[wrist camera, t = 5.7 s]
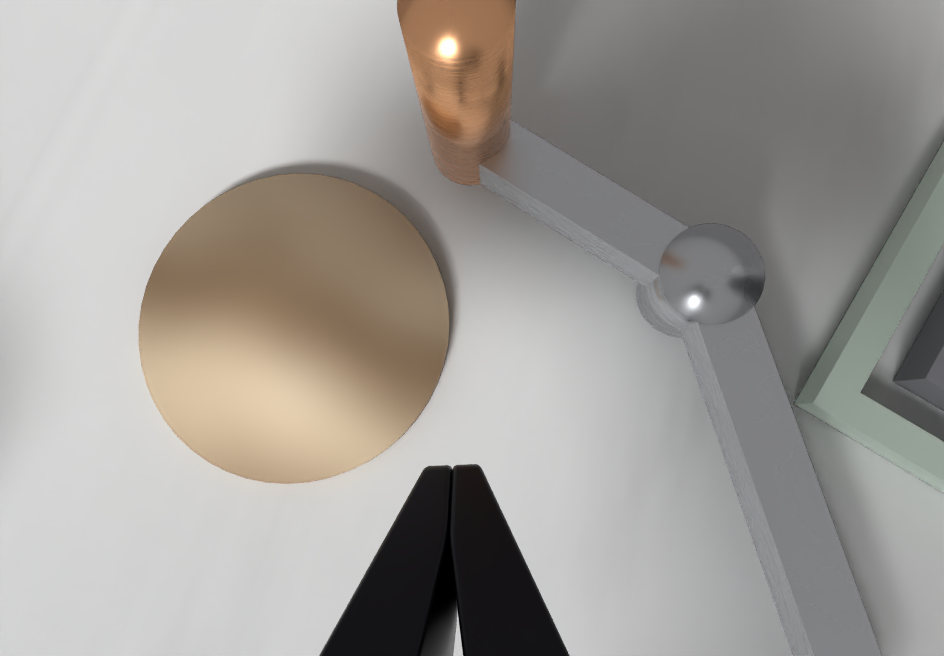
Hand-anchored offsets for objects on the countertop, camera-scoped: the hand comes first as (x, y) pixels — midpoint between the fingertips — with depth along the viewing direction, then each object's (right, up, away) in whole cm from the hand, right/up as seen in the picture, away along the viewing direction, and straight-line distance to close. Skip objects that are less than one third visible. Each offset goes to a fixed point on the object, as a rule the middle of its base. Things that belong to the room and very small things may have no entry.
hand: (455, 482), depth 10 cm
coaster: (-5, +2, +11) cm, 13 cm away
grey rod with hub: (+5, 0, +10) cm, 11 cm away
